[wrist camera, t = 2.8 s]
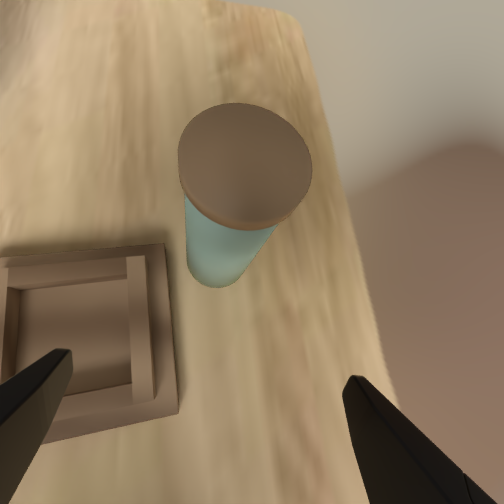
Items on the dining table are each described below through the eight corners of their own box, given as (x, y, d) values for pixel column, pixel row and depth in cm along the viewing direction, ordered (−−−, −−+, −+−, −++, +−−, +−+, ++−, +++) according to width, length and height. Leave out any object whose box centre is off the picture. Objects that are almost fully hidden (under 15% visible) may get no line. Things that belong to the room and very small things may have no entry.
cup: (198, 300, 23) (210, 240, 10) (174, 240, 24) (157, 117, 11) (258, 275, 25) (334, 196, 12) (233, 221, 26) (277, 93, 13)
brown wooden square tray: (179, 409, 20) (177, 419, 18) (-24, 453, 18) (-64, 474, 15) (165, 249, 24) (162, 236, 21) (-7, 265, 21) (-37, 252, 18)
